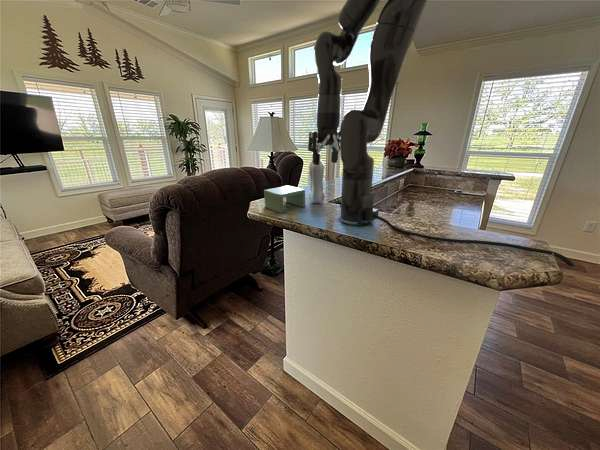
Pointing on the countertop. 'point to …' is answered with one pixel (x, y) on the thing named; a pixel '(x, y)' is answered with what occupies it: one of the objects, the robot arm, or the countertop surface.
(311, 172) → the plastic bottle
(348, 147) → the robot arm
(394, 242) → the countertop surface
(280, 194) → the mint green box
